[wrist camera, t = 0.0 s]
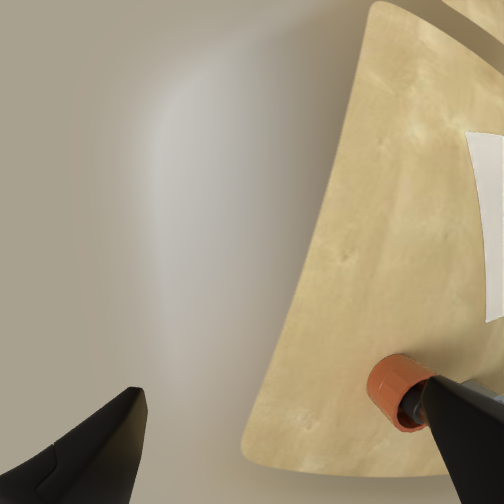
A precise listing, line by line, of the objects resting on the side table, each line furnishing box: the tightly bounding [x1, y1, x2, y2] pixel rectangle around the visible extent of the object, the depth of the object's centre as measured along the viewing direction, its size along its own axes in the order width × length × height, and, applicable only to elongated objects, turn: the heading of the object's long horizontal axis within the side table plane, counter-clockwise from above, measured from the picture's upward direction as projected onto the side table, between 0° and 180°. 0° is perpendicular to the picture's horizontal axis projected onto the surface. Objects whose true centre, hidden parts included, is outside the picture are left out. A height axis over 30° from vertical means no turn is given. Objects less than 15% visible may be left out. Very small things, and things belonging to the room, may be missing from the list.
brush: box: [398, 382, 430, 428], centre depth 18 cm, size 3×3×11 cm
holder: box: [367, 354, 438, 433], centre depth 23 cm, size 5×5×6 cm
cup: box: [461, 380, 504, 404], centre depth 24 cm, size 6×6×5 cm
